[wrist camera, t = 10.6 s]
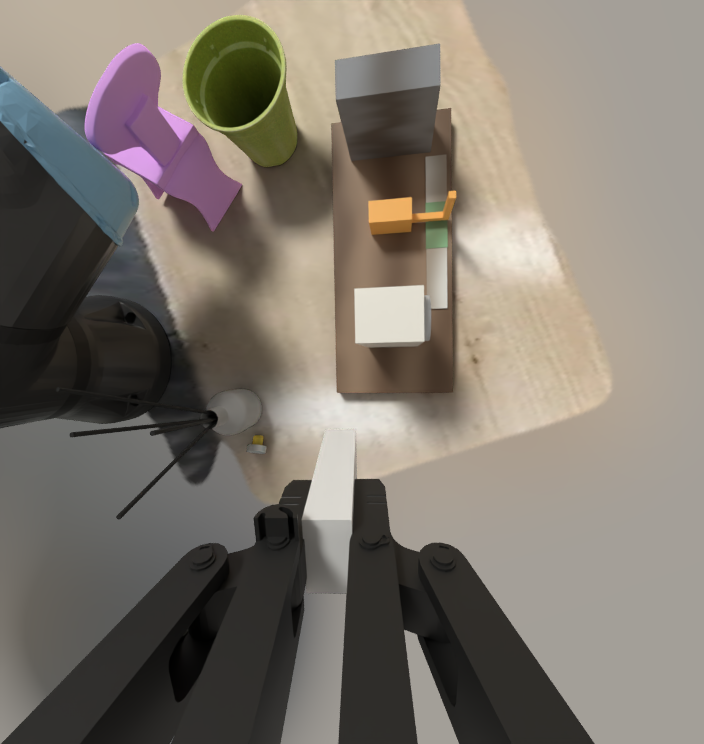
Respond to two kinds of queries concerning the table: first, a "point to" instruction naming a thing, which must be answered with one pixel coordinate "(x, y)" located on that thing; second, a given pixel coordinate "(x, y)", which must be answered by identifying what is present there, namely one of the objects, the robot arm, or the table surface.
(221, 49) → the plant pot
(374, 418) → the table surface
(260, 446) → the reed diffuser
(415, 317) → the block
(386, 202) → the orange l-shaped piece
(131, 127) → the toy chair
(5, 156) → the robot arm
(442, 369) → the gauge board
